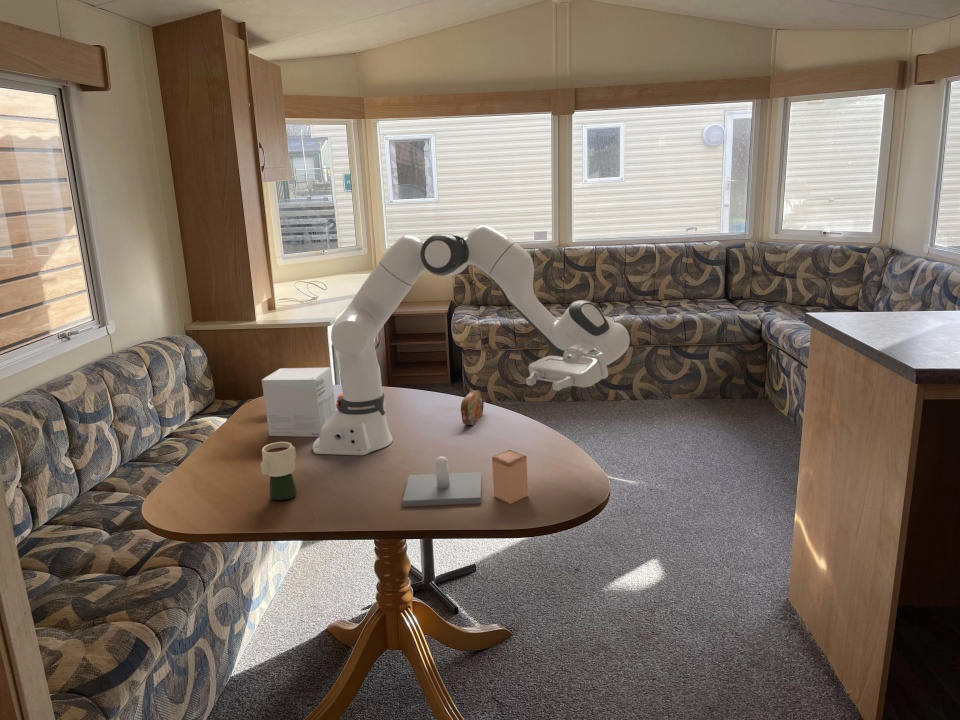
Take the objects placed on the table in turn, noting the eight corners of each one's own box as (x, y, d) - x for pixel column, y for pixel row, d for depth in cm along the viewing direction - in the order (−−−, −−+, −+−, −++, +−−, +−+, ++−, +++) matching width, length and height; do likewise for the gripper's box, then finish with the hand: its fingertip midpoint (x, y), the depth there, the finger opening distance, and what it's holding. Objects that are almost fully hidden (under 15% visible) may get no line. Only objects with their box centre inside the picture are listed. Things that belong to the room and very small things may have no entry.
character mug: (289, 485, 177) (282, 437, 173) (310, 490, 173) (304, 441, 170) (256, 503, 168) (248, 453, 164) (278, 509, 164) (270, 457, 161)
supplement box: (338, 422, 221) (332, 366, 216) (322, 437, 208) (315, 379, 204) (287, 421, 224) (279, 367, 219) (268, 437, 211) (259, 379, 207)
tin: (470, 429, 208) (468, 402, 206) (460, 428, 209) (458, 401, 207) (485, 412, 222) (483, 386, 220) (475, 411, 223) (474, 386, 221)
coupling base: (403, 506, 162) (399, 470, 160) (409, 480, 176) (406, 447, 173) (481, 503, 162) (478, 467, 159) (481, 477, 175) (479, 443, 173)
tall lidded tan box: (510, 503, 161) (508, 463, 158) (494, 496, 165) (492, 456, 162) (528, 495, 164) (526, 456, 161) (511, 488, 168) (509, 449, 166)
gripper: (549, 346, 182) (510, 368, 175) (607, 353, 166) (567, 378, 159) (554, 368, 184) (516, 391, 177) (613, 377, 168) (573, 402, 161)
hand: (541, 385), depth 168 cm, fingers open, 8 cm apart
